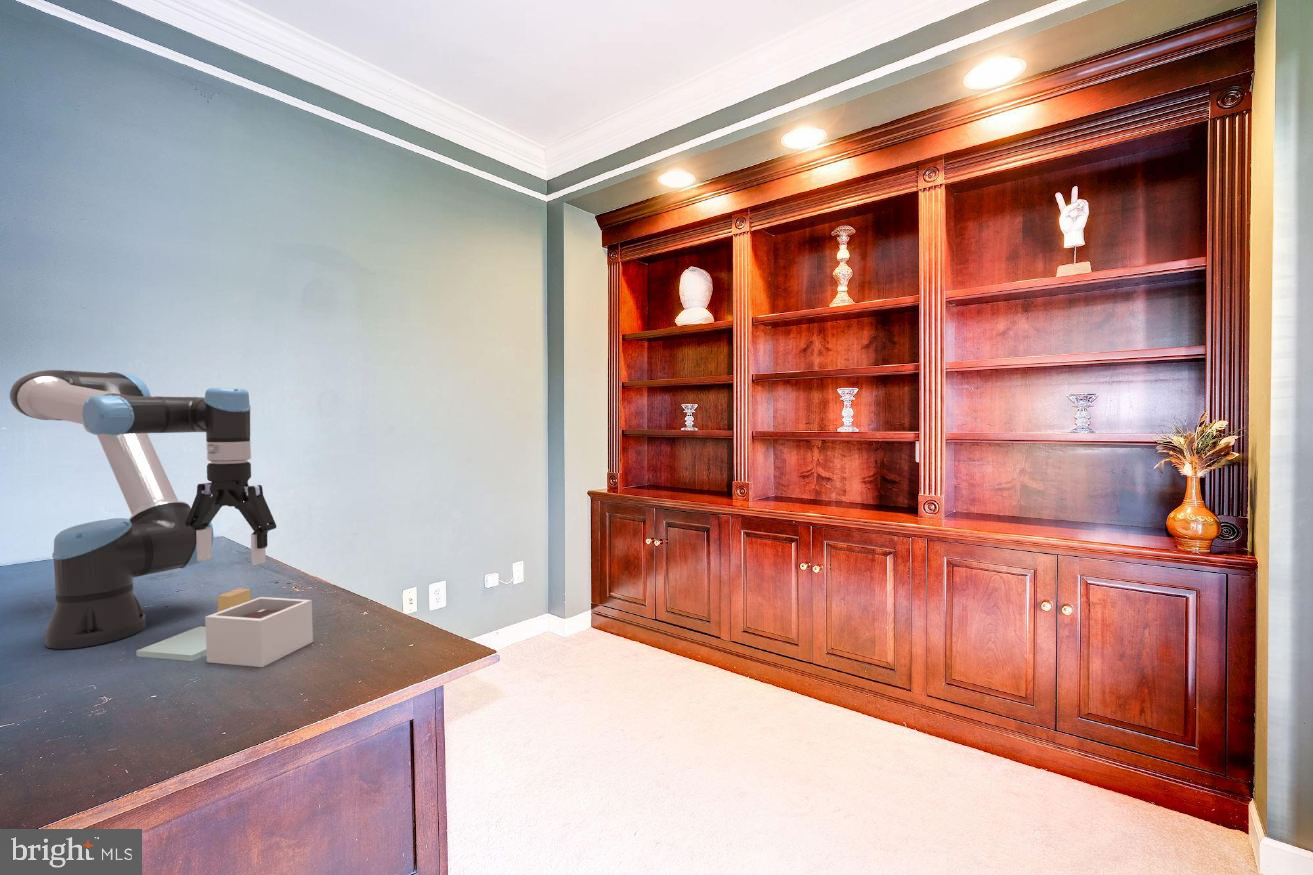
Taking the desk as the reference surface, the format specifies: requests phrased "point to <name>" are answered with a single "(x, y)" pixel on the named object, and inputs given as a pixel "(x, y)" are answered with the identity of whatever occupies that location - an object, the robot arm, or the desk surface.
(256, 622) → the tub
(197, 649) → the lid
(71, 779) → the desk surface
